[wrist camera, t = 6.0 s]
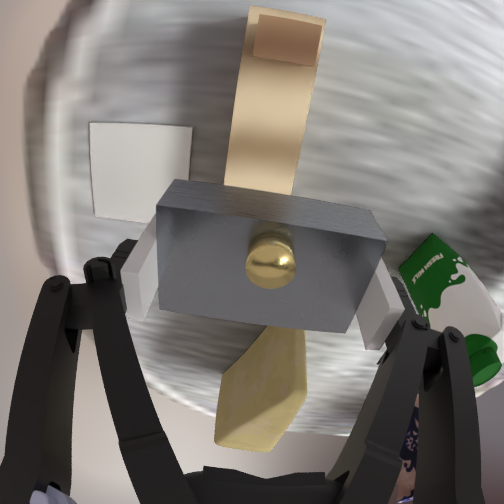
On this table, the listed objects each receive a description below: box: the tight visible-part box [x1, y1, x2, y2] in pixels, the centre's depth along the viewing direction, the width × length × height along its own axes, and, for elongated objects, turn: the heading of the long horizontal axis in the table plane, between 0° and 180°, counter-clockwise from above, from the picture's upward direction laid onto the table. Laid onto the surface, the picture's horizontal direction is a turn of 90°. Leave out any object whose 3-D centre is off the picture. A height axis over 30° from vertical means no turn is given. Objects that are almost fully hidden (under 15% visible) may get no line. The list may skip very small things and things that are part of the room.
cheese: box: [214, 326, 307, 452], centre depth 43 cm, size 22×10×15 cm, turn 161°
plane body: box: [224, 6, 326, 195], centre depth 26 cm, size 24×6×11 cm, turn 172°
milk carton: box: [398, 233, 504, 387], centre depth 31 cm, size 9×9×20 cm
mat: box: [90, 122, 193, 223], centre depth 33 cm, size 12×12×1 cm
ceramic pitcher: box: [396, 394, 419, 503], centre depth 52 cm, size 18×21×25 cm
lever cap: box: [156, 179, 388, 333], centre depth 15 cm, size 6×10×4 cm, turn 82°
